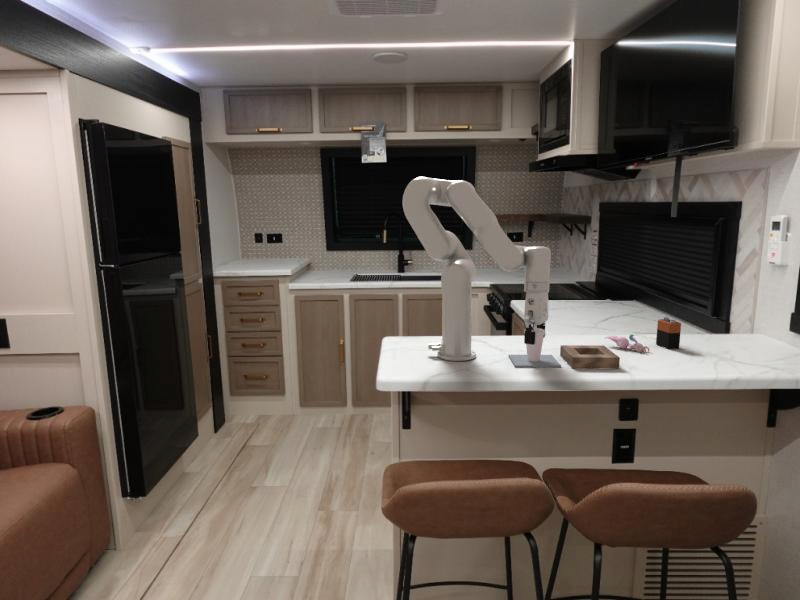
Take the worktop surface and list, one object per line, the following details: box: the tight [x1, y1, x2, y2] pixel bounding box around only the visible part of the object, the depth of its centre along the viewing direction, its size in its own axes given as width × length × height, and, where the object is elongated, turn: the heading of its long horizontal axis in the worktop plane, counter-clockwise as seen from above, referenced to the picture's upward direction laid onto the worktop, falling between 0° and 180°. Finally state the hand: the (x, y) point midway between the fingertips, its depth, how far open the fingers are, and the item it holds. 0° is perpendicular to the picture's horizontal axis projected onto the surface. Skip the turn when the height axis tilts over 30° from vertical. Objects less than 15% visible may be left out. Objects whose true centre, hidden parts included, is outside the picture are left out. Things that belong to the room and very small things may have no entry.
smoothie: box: [523, 324, 546, 362], centre depth 166 cm, size 6×6×14 cm
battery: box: [655, 316, 682, 350], centre depth 183 cm, size 4×7×10 cm, turn 12°
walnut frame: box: [559, 344, 621, 370], centre depth 166 cm, size 14×14×4 cm
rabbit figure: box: [604, 333, 650, 354], centre depth 181 cm, size 6×6×15 cm
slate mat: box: [508, 354, 562, 368], centre depth 167 cm, size 14×12×1 cm
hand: (534, 340), depth 166 cm, fingers open, 9 cm apart
